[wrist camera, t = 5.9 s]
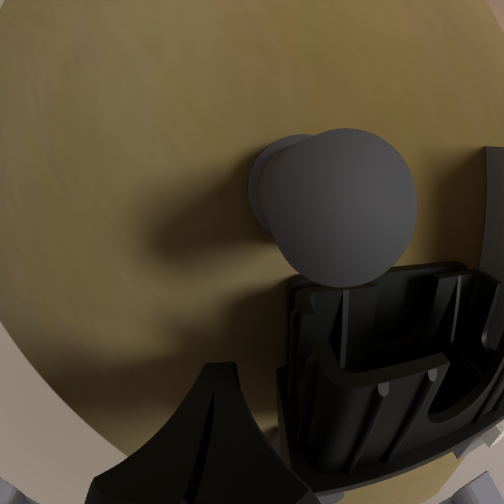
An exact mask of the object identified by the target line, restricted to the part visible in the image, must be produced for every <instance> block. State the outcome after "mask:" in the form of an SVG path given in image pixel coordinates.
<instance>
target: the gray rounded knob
mask: <svg viewBox="0 0 504 504" xmlns="http://www.w3.org/2000/svg"><path fill="white" fill-rule="evenodd" d="M247 186H248V197H249V202H250V206H251V209H252V211H253V213H254V216H255V217H256V219H257V221H258V222H259V223H260V225H261V226H262V227H263V228H264V229H265V230H266V231H267V232H268V233H270V234H271V235H272V236H274V238H275V240H276V242H277V245H278V247H279V249H280V251H281V252H282V254H283V256H284V257H285V259H286V260H287V261H288V262H289V264H290V265H291V266H292V267H293V268H294V269H295V270H296V271H297V272H299V273H300V274H301V275H303V276H304V277H306V278H307V279H309V280H311V281H313V282H316V283H319V284H321V285H325V286H330V287H341V288H343V287H353V286H357V285H361V284H364V283H367V282H370V281H372V280H374V279H376V278H377V277H379V276H380V275H382V274H384V273H385V272H386V271H387V270H389V269H390V268H391V267H392V266H393V265H394V264H395V263H396V262H397V261H398V259H399V258H400V257H401V255H402V254H403V253H404V251H405V249H406V248H407V246H408V244H409V242H410V240H411V237H412V235H413V232H414V228H415V225H416V219H417V210H418V201H417V192H416V187H415V183H414V179H413V177H412V174H411V172H410V170H409V168H408V166H407V164H406V162H405V161H404V159H403V158H402V157H401V155H400V154H399V153H398V152H397V151H396V150H395V149H394V148H393V147H392V146H391V145H390V144H389V143H387V142H386V141H385V140H383V139H381V138H380V137H378V136H376V135H374V134H371V133H369V132H366V131H362V130H358V129H348V128H345V129H334V130H330V131H326V132H323V133H320V134H318V135H315V136H313V135H305V134H299V135H292V136H288V137H284V138H282V139H279V140H278V141H276V142H274V143H272V144H271V145H270V146H268V147H267V148H266V149H264V150H263V151H262V152H261V153H260V154H259V156H258V157H257V158H256V160H255V162H254V163H253V165H252V167H251V170H250V173H249V177H248V185H247Z"/></svg>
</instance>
